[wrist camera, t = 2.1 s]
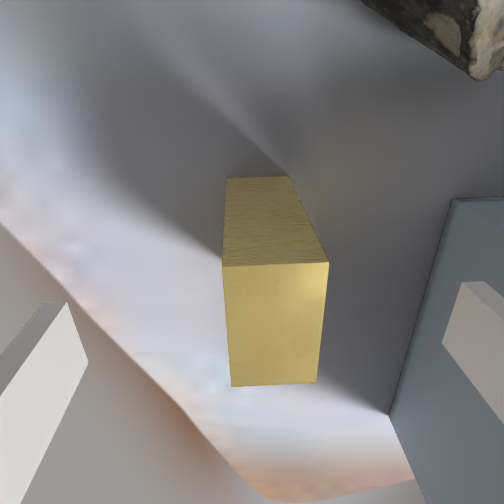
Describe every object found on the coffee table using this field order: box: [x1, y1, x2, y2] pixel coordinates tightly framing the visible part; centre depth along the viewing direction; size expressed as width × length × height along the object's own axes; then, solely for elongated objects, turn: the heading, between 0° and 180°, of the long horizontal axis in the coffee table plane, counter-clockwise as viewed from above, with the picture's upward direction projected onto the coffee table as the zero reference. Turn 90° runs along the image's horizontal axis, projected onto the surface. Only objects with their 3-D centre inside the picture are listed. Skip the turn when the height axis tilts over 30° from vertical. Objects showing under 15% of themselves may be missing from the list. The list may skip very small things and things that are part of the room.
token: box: [222, 176, 329, 387], centre depth 14 cm, size 5×3×8 cm, turn 1°
